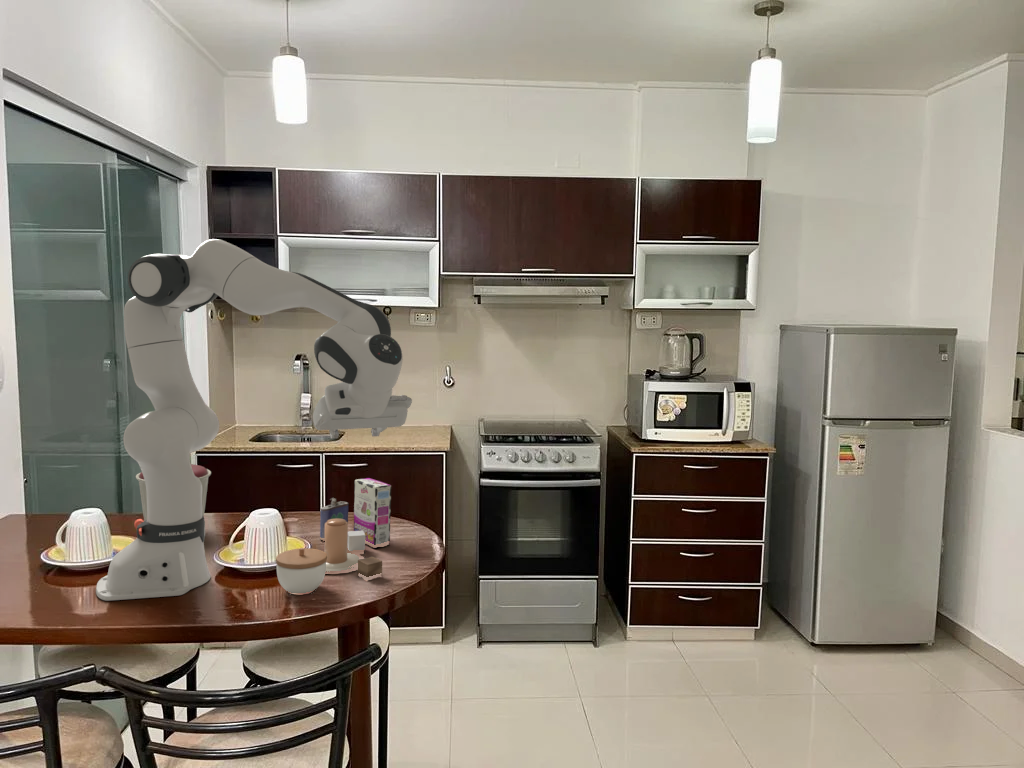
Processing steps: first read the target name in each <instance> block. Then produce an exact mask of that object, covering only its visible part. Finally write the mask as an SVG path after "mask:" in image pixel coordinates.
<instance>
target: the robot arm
mask: <svg viewBox="0 0 1024 768" xmlns="http://www.w3.org/2000/svg"><path fill="white" fill-rule="evenodd" d="M127 282H128V287H129V289H130V292H131V293H132V295H133V297H131V298H129V299H128V300H127V301H126V303H125V304H124V308H123V325H124V326H123V327H124V335H125V343H126V348H127V352H128V357H129V362H130V366H131V372H132V375H133V379H134V383H135V385H136V387H137V388H138V389H140V390H141V391H143V393H145V395H147V397H148V398H149V399H148V400H150V402H151V404H152V406H153V408H154V410H152V411H148V412H146V413H144V414H141V415H139V416H138V417H137V418H135V419H134V420H132V421H131V422H130V423H128V424H127V426H126V428H125V430H124V433H123V439H122V440H123V447H124V449H125V451H126V453H127V454H128V455H129V456H130V458H132V459H133V460H134V461H136V463H137V464H138V466H139V469H140V470H141V471H140V472H142V473H143V476H144V480H145V484H146V491H147V520H145V521H144V519H142V518H138V519H136V520H134V528H135V530H136V538H135V539H134V540H133V541H132V542H130V544H128V545H126V546H125V547H123V549H121V550H120V551H118V552H117V553H116V554H115V555H114V556H113V557H112V559H111V561H110V564H109V567H108V572H107V575H105V576H103V577H101V578H100V579H99V580H98V581H97V583H96V587H95V594H96V596H97V597H98V598H99V599H100V600H102V601H106V602H107V601H120V600H121V601H122V600H135V599H137V600H138V599H149V598H160V597H161V598H162V597H164V598H165V597H174V596H175V597H176V596H182V595H185V594H186V593H188V592H189V591H190V590H193V589H195V588H197V587H200V586H202V585H204V584H205V583H207V582H208V581H210V579H211V573H210V570H209V567H208V563H207V559H206V552H205V545H204V544H205V543H204V542H205V537H206V521H205V515H204V516H203V515H202V483H201V481H200V479H199V478H197V477H196V476H195V475H194V473H193V470H192V467H191V464H192V463H191V458H190V457H191V456H190V455H191V453H195V452H197V451H200V450H202V449H204V448H205V447H206V446H208V445H209V444H210V443H211V442H212V441H214V439H216V437H217V436H218V434H219V431H220V420H219V417H218V415H217V414H216V412H215V411H214V410H213V409H212V408H211V407H209V406H208V405H207V404H206V402H205V400H204V399H203V397H202V395H201V393H200V392H199V389H198V387H197V385H196V383H195V381H194V378H193V376H192V373H191V370H190V369H191V368H190V365H189V360H188V356H187V355H188V354H187V351H186V347H185V342H184V338H183V333H182V328H181V316H182V314H183V313H184V312H186V313H193V312H194V311H196V310H197V309H199V308H201V307H203V306H205V305H208V304H209V303H212V302H213V301H214V300H215V299H216V298H217V297H219V298H221V299H222V300H224V301H226V302H227V303H228V304H230V305H231V306H232V307H233V308H235V309H237V310H239V311H241V312H243V313H245V314H247V315H249V316H266V315H270V314H271V315H272V314H274V313H277V312H281V311H284V310H289V309H294V308H307V309H311V310H314V311H315V312H319V313H320V314H322V315H324V316H325V317H328V318H330V319H332V320H333V321H336V322H337V323H335V324H334V325H333V326H331V327H329V328H328V329H327V330H325V331H324V332H323V333H322V334H321V335H320V336H319V337H317V338H316V339H315V341H314V344H313V352H314V356H315V357H314V358H315V361H316V362H317V364H318V366H319V367H320V369H321V370H322V371H323V372H325V373H326V374H327V375H328V376H330V377H331V378H334V379H336V380H338V381H341V382H339V383H338V382H337V383H333V384H330V385H326V387H324V395H323V396H322V397H320V398H319V400H318V402H316V405H315V407H314V410H313V413H312V422H313V426H314V428H315V429H316V431H328V432H329V437H330V439H331V440H333V439H338V438H339V435H340V432H339V430H355V429H356V430H358V429H371V430H370V433H371V437H379V436H380V434H381V433H382V432H384V431H385V430H386V429H388V428H397V427H398V428H399V427H402V426H403V425H405V423H406V421H407V417H408V409H410V407H411V405H412V403H413V399H412V398H411V397H409V396H408V395H405V394H402V395H396V394H395V395H394V394H393V388H394V387H395V386H396V384H397V383H398V380H399V377H400V376H399V375H400V373H401V370H402V365H403V361H404V359H403V357H404V356H403V350H402V347H401V346H400V344H399V343H398V341H397V340H396V339H395V338H394V337H392V327H391V323H390V320H389V318H388V317H387V315H386V314H385V312H384V311H383V310H381V309H380V307H379V308H378V307H377V306H376V305H375V306H374V305H372V304H370V303H367V302H362V301H360V300H356V299H354V298H352V297H350V296H348V295H346V294H344V293H343V292H340V291H338V290H336V289H334V288H332V287H330V286H328V285H327V284H324V283H323V282H320V281H318V280H316V279H314V278H313V277H310V276H307V275H305V274H303V273H300V272H294V271H288V270H285V269H284V270H283V269H280V268H277V267H275V266H273V265H270V264H267V263H265V262H264V261H262V260H260V259H259V258H257V257H256V256H254V255H252V254H251V253H249V252H248V251H246V250H244V249H242V248H240V247H238V246H237V245H234V244H233V243H230V242H227V241H226V240H223V239H217V238H212V239H211V238H210V239H208V240H205V241H204V242H202V243H201V244H200V245H199V246H198V247H197V248H196V250H194V252H193V254H192V255H185V254H177V253H176V254H169V253H168V254H167V253H153V254H148V255H144V256H141V257H139V258H138V259H136V260H135V261H134V262H133V263H132V265H131V266H130V268H129V271H128V273H127ZM392 394H393V395H392Z"/></svg>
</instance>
